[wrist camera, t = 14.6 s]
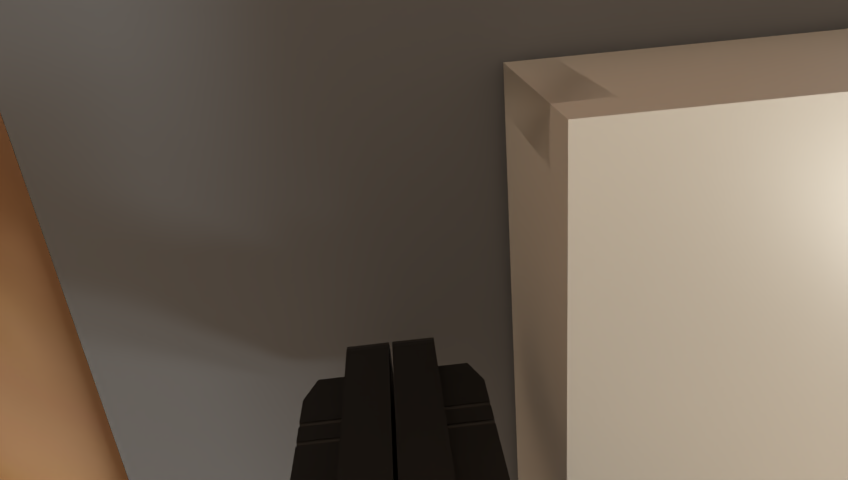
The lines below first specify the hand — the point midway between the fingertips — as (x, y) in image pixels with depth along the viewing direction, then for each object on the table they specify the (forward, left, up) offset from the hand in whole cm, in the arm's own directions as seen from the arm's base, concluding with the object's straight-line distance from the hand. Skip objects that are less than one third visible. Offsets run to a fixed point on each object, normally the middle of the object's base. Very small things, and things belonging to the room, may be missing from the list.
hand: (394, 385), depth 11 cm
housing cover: (0, -6, -1) cm, 6 cm away
